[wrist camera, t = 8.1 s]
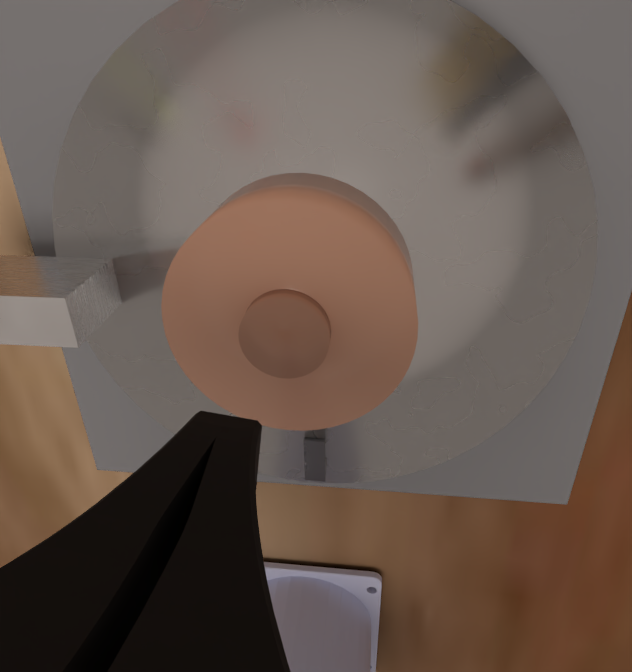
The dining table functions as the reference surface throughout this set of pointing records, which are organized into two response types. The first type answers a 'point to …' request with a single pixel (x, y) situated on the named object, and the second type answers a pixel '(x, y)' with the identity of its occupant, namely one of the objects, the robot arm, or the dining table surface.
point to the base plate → (566, 84)
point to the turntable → (344, 165)
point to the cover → (293, 303)
